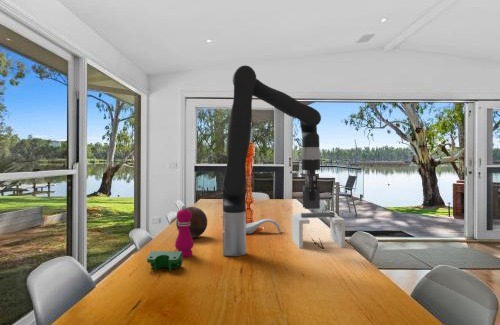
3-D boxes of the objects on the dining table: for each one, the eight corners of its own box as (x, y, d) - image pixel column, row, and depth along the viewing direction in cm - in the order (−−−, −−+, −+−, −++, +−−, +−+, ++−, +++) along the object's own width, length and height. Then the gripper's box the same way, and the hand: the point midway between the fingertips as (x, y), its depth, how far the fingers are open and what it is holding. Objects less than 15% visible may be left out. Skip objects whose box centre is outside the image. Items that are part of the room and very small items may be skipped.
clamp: (153, 282, 136) (141, 260, 134) (158, 273, 141) (146, 252, 139) (183, 271, 134) (171, 248, 132) (187, 262, 139) (176, 240, 137)
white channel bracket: (299, 248, 167) (299, 215, 167) (292, 239, 185) (292, 209, 185) (344, 247, 168) (345, 215, 168) (333, 238, 186) (333, 209, 186)
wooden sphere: (211, 235, 195) (210, 205, 195) (202, 241, 181) (202, 209, 180) (182, 234, 198) (182, 204, 198) (171, 240, 183) (171, 208, 183)
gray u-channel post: (305, 208, 158) (304, 186, 157) (302, 207, 163) (302, 185, 162) (319, 208, 158) (319, 186, 158) (317, 207, 163) (316, 185, 163)
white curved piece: (234, 235, 197) (234, 221, 197) (235, 230, 208) (235, 217, 208) (281, 235, 196) (281, 221, 196) (279, 230, 208) (279, 217, 208)
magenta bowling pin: (197, 254, 157) (196, 204, 157) (186, 258, 151) (186, 207, 150) (182, 252, 160) (181, 204, 160) (171, 256, 154) (171, 206, 153)
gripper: (298, 158, 167) (299, 198, 167) (305, 158, 153) (305, 202, 153) (316, 158, 167) (316, 197, 167) (323, 158, 153) (324, 201, 153)
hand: (311, 199), depth 160 cm, fingers closed on gray u-channel post, 5 cm apart
